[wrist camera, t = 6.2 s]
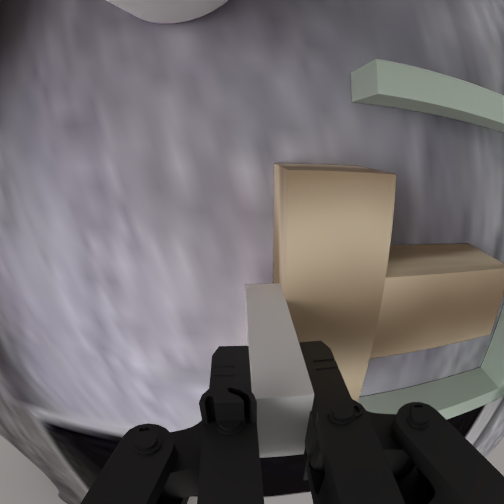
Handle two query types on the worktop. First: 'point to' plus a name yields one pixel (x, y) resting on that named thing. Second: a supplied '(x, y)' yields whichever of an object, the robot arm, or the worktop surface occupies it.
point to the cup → (168, 9)
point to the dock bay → (464, 109)
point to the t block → (371, 271)
